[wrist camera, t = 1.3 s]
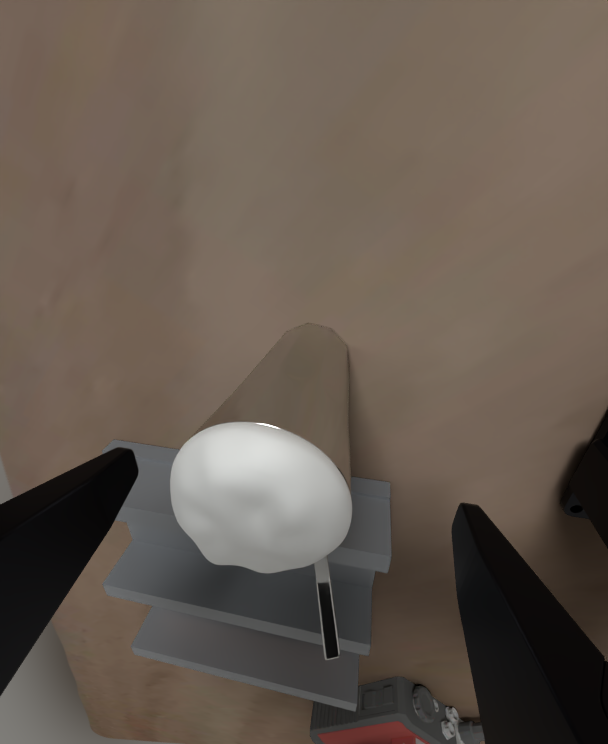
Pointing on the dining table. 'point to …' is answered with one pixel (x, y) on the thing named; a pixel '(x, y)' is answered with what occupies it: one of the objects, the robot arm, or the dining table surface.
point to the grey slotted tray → (248, 594)
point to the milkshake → (275, 467)
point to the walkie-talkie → (392, 718)
